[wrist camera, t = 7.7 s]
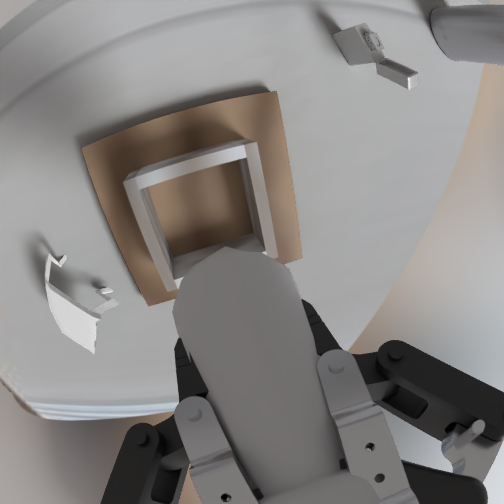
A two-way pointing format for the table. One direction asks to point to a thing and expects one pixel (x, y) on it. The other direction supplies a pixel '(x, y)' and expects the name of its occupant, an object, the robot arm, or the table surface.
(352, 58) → the lighter
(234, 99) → the wooden base with frame
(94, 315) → the white bent open piece
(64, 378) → the table surface
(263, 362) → the salt shaker
